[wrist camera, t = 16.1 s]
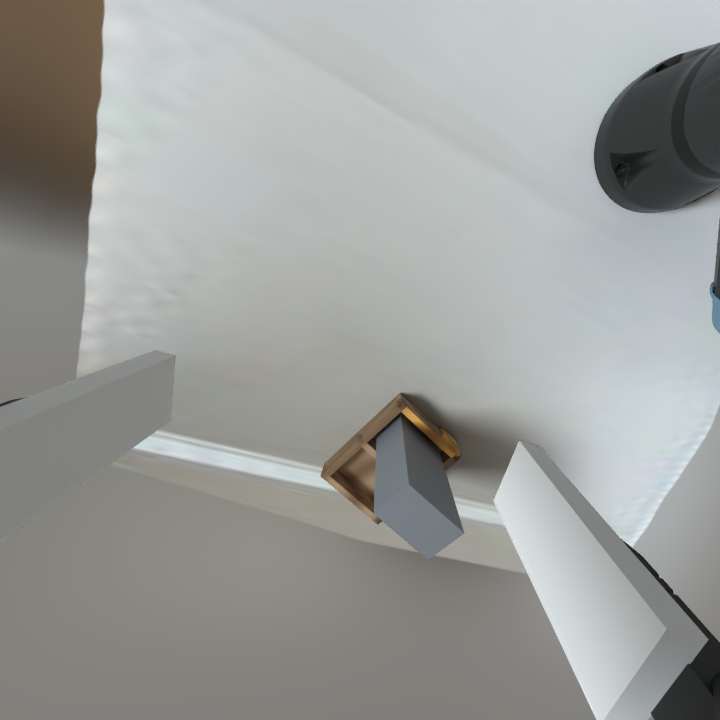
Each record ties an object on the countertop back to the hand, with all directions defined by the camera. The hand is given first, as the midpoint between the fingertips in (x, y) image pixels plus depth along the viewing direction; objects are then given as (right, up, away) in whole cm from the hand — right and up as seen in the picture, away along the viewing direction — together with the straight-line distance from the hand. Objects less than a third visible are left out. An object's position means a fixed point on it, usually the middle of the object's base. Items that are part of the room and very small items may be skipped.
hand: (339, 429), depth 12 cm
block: (+8, -9, +38) cm, 40 cm away
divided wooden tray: (+5, -12, +39) cm, 41 cm away
